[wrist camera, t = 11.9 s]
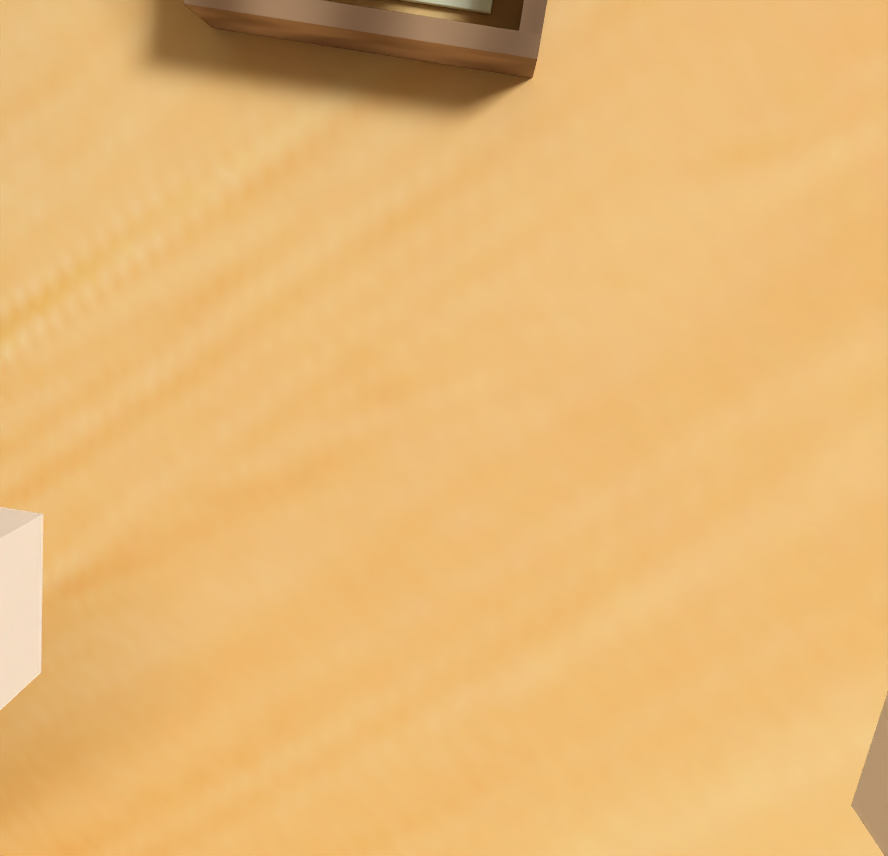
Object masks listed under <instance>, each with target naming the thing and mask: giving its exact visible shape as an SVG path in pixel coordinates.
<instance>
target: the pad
mask: <svg viewBox="0 0 888 856" xmlns="http://www.w3.org/2000/svg"><path fill="white" fill-rule="evenodd" d="M402 1H408V2H415V3H421V4H427V5H434V6H440V7H447V8H453V9H460V10H466V11H472V12H479V13H485V14H491V9H492V2H493V0H402Z"/></svg>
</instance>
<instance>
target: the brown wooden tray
mask: <svg viewBox="0 0 888 856" xmlns="http://www.w3.org/2000/svg"><path fill="white" fill-rule="evenodd" d="M184 4H185V5H186V6H187V7H188V8H189V9H191V10H192V11H193V12H194V13H195V14H197V15H198V16H199V17H200V18H201V19H203V20H204V21H205V22H206V23H207V24H209V25H210V26H211V27H212V28H217V29H224V30H230V31H237V32H243V33H249V34H256V35H262V36H268V37H275V38H281V39H287V40H294V41H300V42H307V43H313V44H319V45H326V46H332V47H338V48H345V49H351V50H358V51H364V52H370V53H377V54H383V55H389V56H396V57H402V58H409V59H415V60H421V61H428V62H434V63H440V64H447V65H453V66H459V67H466V68H472V69H479V70H485V71H491V72H498V73H504V74H510V75H517V76H523V77H530V78H532V77H533V73H534V69H535V65H536V61H537V57H538V51H539V45H540V39H541V34H542V28H543V22H544V16H545V10H546V4H547V0H524V3H523V9H522V15H521V21H520V27H519V31H517V30H510V29H504V28H497V27H491V26H485V25H478V24H472V23H465V22H459V21H453V20H446V19H440V18H433V17H427V16H420V15H414V14H408V13H401V12H395V11H388V10H382V9H376V8H369V7H363V6H356V5H350V4H343V3H337V2H331V1H324V0H184Z"/></svg>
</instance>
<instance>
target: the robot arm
mask: <svg viewBox="0 0 888 856" xmlns="http://www.w3.org/2000/svg"><path fill="white" fill-rule="evenodd" d="M42 565H43V514H41V513H35V512H29V511H22V510H16V509H10V508H3V507H0V710H1V709H2V708H3V707H4V706H5V705H6V704H7V703H9V702H10V701H11V700H12V699H13V698H14V697H15V696H16V695H17V694H18V693H19V692H20V691H22V690H23V689H24V688H25V687H26V686H27V685H28V684H29V683H30V682H31V681H32V680H33V679H35V678H36V677H37V676H38V675H39V674H40V673H41V642H42ZM851 806H852V807H853V809H854V810H855V812H856V813H857V815H858V816H859V818H860V819H861V821H862V822H863V824H864V825H865V827H866V828H867V830H868V831H869V833H870V834H871V836H872V837H873V839H874V840H875V842H876V843H877V845H878V846H879V848H880V849H881V851H882V852H883V854H884V855H885V856H888V693H887V696H886V699H885V702H884V705H883V709H882V712H881V715H880V718H879V721H878V724H877V727H876V730H875V733H874V736H873V739H872V742H871V746H870V749H869V752H868V755H867V758H866V761H865V764H864V767H863V770H862V773H861V776H860V780H859V783H858V786H857V789H856V792H855V795H854V798H853V801H852V804H851Z"/></svg>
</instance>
